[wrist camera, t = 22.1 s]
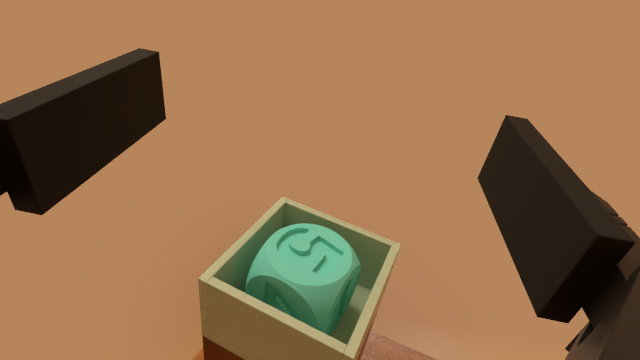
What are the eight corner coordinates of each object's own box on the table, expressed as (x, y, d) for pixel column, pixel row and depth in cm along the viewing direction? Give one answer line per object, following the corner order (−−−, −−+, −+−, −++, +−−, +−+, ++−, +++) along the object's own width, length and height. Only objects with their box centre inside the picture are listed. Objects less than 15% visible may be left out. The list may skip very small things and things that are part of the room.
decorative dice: (314, 362, 32) (327, 305, 27) (242, 316, 35) (244, 257, 30) (352, 301, 38) (368, 246, 33) (289, 266, 41) (296, 211, 36)
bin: (202, 335, 33) (197, 278, 29) (277, 247, 44) (282, 196, 40) (335, 412, 29) (353, 359, 25) (383, 295, 40) (401, 244, 36)
